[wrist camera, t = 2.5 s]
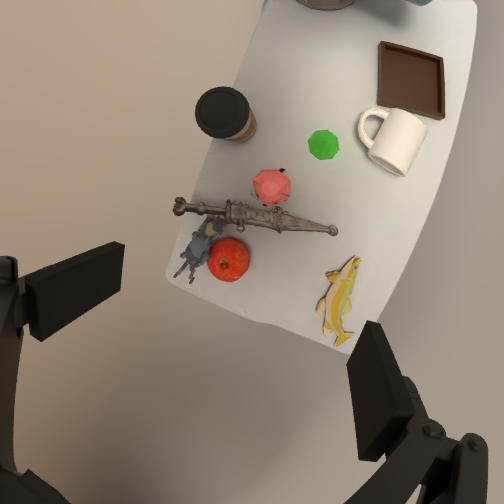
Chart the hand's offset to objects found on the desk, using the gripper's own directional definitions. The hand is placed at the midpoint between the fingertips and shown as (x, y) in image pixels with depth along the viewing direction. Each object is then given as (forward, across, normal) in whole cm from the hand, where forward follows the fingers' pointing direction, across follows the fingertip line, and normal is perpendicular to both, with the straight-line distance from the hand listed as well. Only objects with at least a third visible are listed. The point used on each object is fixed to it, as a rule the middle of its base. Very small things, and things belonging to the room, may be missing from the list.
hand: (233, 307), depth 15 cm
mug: (+44, +14, +19) cm, 50 cm away
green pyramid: (+44, +3, +14) cm, 47 cm away
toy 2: (+42, +10, -14) cm, 46 cm away
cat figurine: (+44, -3, +4) cm, 44 cm away
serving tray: (+44, +17, +33) cm, 58 cm away
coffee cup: (+44, -13, +14) cm, 48 cm away
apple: (+44, -8, -11) cm, 46 cm away
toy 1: (+41, -12, -2) cm, 43 cm away
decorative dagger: (+44, +10, -1) cm, 45 cm away
